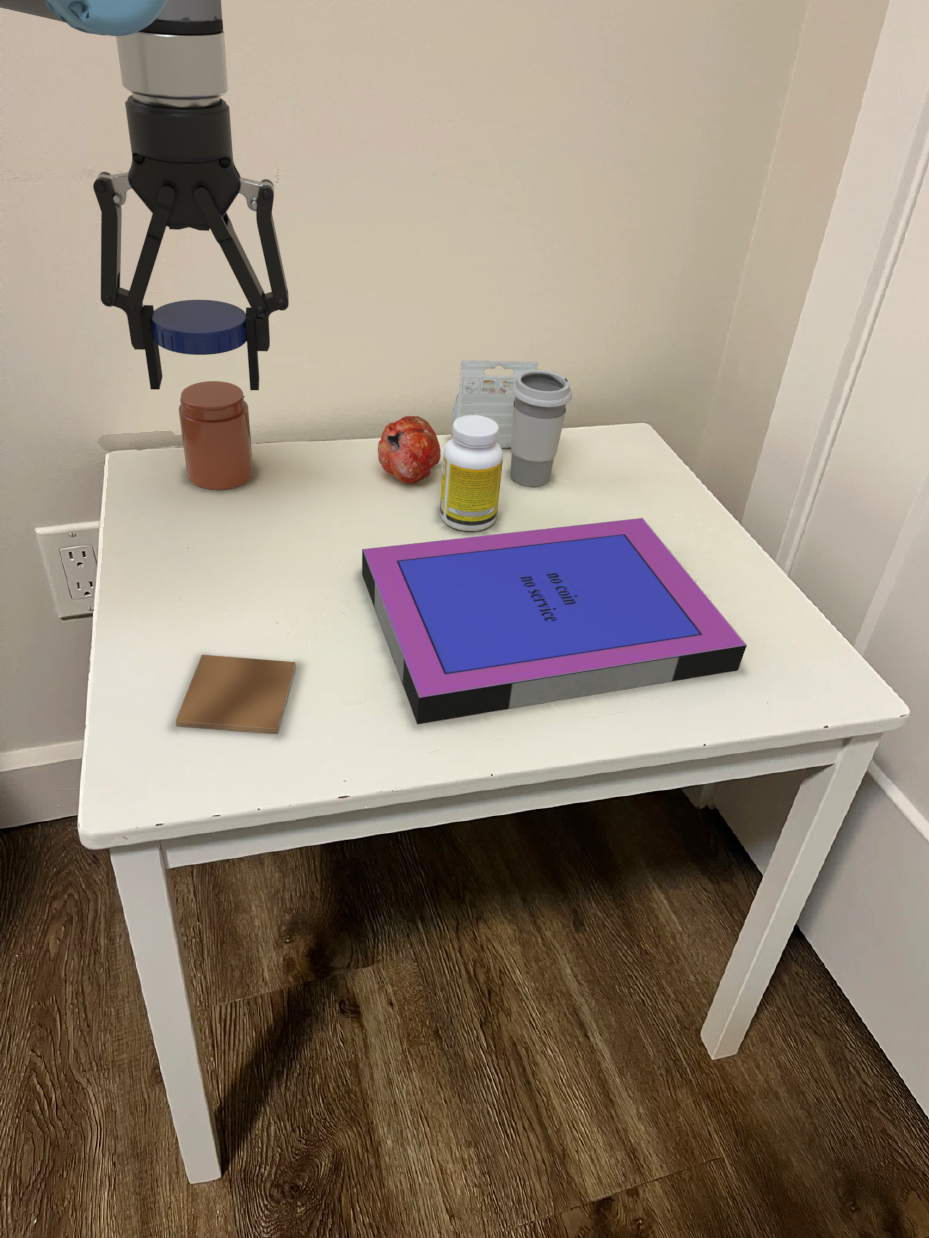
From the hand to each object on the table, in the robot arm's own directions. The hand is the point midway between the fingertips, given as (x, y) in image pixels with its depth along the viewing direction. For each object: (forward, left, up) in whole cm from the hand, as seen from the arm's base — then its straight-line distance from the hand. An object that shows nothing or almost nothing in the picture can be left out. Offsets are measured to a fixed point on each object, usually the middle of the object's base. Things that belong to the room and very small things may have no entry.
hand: (206, 383), depth 82 cm
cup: (+32, +18, -17) cm, 40 cm away
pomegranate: (+18, +16, -17) cm, 29 cm away
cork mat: (+7, -22, -17) cm, 29 cm away
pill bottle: (+25, +8, -17) cm, 31 cm away
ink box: (+27, +25, -17) cm, 40 cm away
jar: (-3, +13, -17) cm, 21 cm away
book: (+32, -9, -17) cm, 38 cm away
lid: (0, 0, +6) cm, 6 cm away
